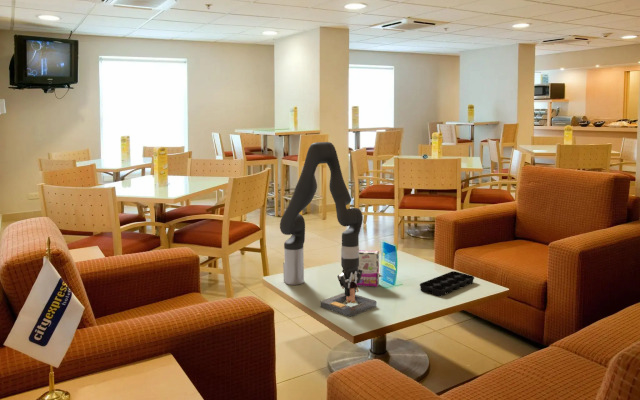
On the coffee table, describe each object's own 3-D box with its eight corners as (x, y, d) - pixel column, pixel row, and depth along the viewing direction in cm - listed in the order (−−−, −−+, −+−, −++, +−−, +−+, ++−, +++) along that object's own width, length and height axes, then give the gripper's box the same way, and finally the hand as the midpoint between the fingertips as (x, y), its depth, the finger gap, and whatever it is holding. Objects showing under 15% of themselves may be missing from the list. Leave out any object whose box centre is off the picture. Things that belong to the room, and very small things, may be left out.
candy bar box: (379, 284, 260) (379, 250, 258) (377, 287, 256) (378, 253, 253) (356, 282, 263) (356, 249, 260) (354, 285, 258) (354, 252, 256)
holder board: (320, 306, 232) (320, 300, 231) (346, 297, 243) (346, 291, 243) (350, 317, 220) (350, 310, 219) (376, 306, 231) (376, 300, 231)
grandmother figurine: (359, 301, 233) (360, 272, 231) (357, 304, 229) (359, 274, 227) (342, 299, 235) (343, 270, 233) (340, 302, 231) (341, 273, 229)
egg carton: (476, 282, 263) (476, 274, 262) (453, 300, 239) (453, 292, 238) (441, 276, 273) (442, 269, 272) (416, 293, 248) (416, 285, 248)
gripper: (354, 250, 236) (354, 289, 239) (332, 257, 226) (332, 297, 229) (367, 253, 231) (367, 293, 234) (345, 260, 221) (345, 301, 224)
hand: (350, 294), depth 231 cm, fingers closed on grandmother figurine, 3 cm apart
